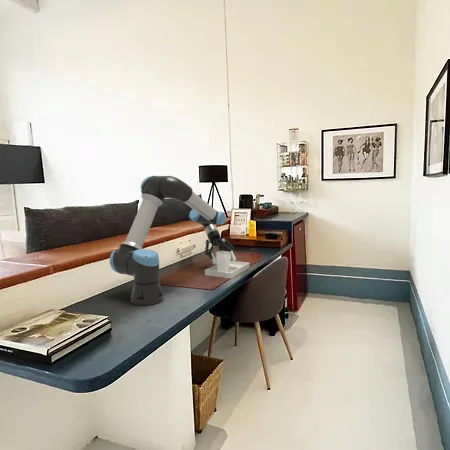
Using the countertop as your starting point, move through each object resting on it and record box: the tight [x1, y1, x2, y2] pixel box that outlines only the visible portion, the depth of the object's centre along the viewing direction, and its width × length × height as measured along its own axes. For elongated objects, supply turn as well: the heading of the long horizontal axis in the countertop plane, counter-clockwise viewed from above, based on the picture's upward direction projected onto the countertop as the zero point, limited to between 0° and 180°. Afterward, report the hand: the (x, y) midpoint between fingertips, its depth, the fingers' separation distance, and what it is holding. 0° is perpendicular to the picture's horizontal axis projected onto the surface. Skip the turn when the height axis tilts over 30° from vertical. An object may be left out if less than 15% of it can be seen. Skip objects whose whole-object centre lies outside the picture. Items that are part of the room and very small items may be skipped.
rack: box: [204, 260, 250, 279], centre depth 219 cm, size 28×17×3 cm, turn 154°
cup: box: [215, 250, 232, 272], centre depth 212 cm, size 9×9×12 cm
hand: (225, 262), depth 210 cm, fingers open, 13 cm apart
